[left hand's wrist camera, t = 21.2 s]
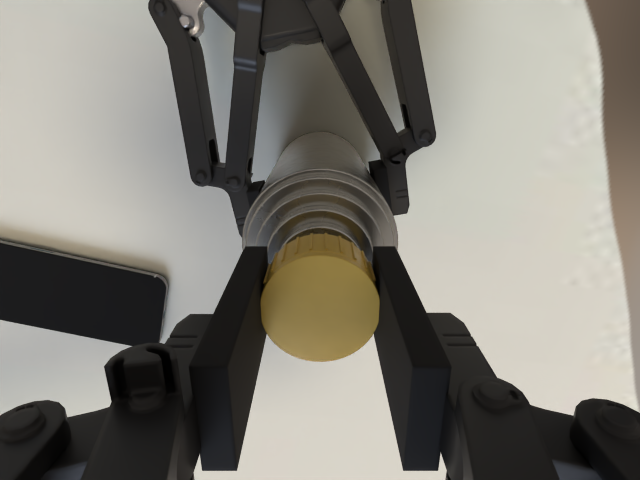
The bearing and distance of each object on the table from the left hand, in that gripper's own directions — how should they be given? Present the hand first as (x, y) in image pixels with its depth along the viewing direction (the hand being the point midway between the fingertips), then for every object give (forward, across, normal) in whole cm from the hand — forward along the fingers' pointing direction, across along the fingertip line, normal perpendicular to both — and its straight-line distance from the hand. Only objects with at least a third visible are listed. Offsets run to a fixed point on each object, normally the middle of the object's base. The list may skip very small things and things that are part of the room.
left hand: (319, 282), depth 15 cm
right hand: (+12, +1, -5) cm, 13 cm away
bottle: (+18, 0, 0) cm, 18 cm away
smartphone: (+18, -21, -10) cm, 29 cm away
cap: (-2, 0, 0) cm, 2 cm away
